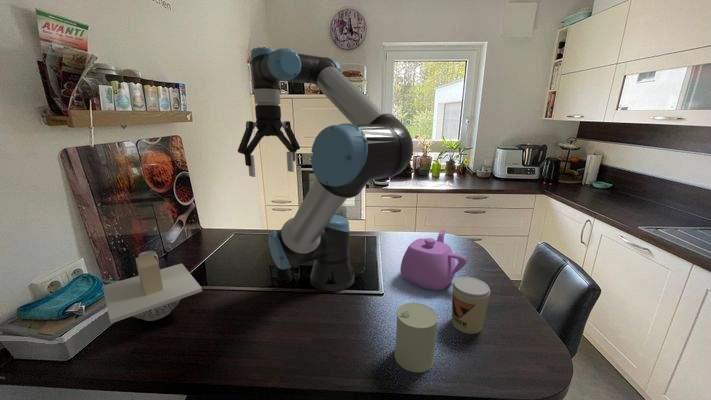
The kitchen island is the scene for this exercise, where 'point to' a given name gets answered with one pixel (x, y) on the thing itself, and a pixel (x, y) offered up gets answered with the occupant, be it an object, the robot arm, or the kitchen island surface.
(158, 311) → the bowl
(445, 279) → the teapot
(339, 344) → the kitchen island surface
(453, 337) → the kitchen island surface
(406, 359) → the can
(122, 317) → the lid
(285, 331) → the kitchen island surface
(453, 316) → the cream canister
